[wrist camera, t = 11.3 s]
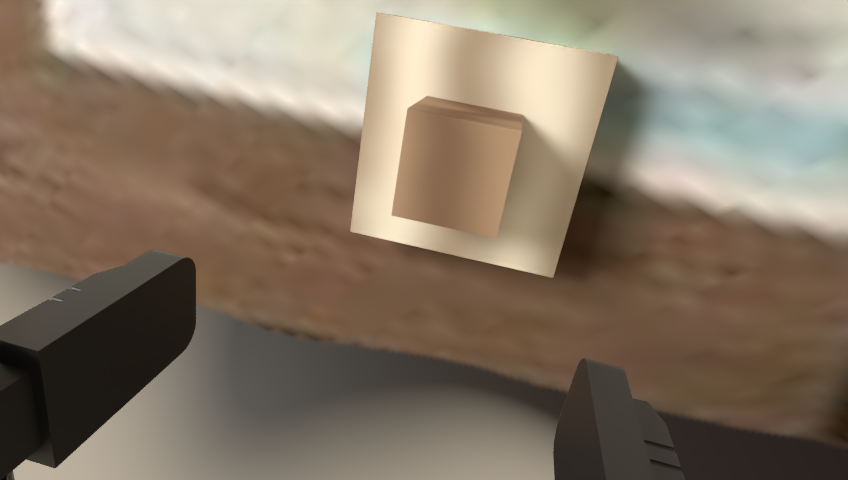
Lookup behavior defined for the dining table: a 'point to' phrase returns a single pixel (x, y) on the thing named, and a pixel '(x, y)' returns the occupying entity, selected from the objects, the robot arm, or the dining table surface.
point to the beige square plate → (492, 88)
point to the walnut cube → (456, 165)
